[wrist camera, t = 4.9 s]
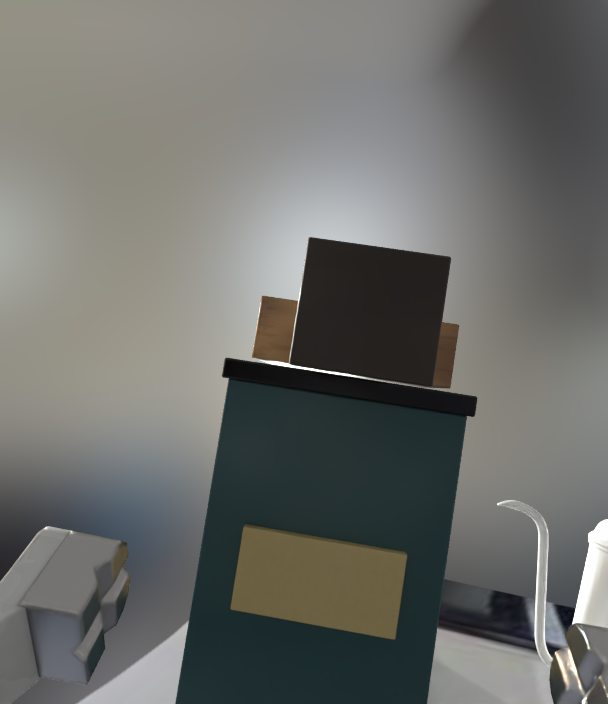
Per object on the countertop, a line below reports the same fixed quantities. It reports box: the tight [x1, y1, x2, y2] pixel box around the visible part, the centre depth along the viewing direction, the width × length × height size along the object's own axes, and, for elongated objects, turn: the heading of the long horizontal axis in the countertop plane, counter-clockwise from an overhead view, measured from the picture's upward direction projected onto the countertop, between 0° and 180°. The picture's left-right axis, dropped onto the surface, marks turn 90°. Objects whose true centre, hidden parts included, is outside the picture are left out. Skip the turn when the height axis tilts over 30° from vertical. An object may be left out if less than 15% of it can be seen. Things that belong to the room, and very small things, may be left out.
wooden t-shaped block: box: [252, 237, 459, 388], centre depth 25 cm, size 10×18×4 cm, turn 177°
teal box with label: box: [176, 358, 477, 704], centre depth 30 cm, size 13×9×26 cm
